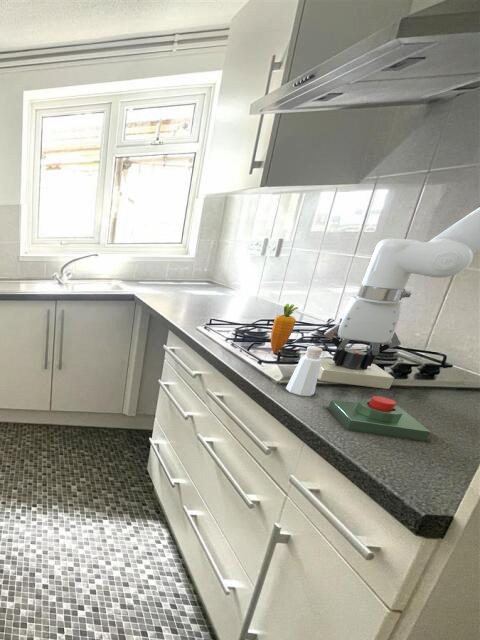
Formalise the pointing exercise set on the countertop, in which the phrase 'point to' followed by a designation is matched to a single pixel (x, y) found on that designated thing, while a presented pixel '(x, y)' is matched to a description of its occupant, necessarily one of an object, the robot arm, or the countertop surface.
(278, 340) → the carrot
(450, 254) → the robot arm
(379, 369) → the hob panel
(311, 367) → the pepper shaker
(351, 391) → the countertop surface
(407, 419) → the green button base
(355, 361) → the hob knob
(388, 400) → the button
